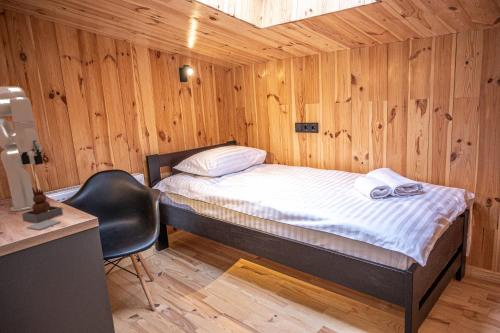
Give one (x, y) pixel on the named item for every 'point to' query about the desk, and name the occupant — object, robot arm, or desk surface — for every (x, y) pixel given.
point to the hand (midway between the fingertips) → (32, 164)
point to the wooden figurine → (39, 202)
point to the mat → (43, 225)
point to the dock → (42, 215)
